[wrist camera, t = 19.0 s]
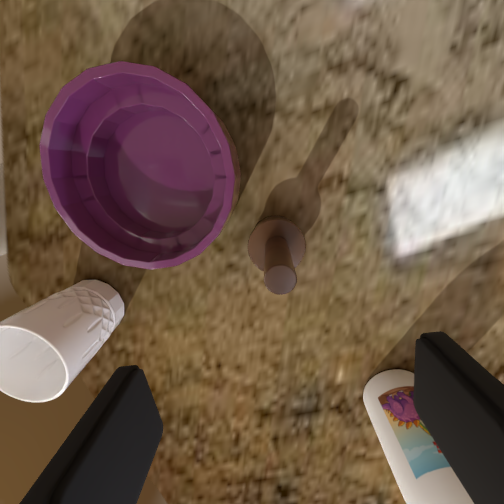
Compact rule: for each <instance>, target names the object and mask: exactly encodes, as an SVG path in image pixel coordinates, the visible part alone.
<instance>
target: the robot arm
mask: <svg viewBox="0 0 504 504" xmlns="http://www.w3.org/2000/svg"><path fill="white" fill-rule="evenodd" d="M413 403H414V407H415V410H416V412H417V414H418V416H419V417H420V419H421V420H422V422H423V424H424V425H425V427H426V428H427V430H428V431H429V433H430V435H431V436H432V438H433V439H434V441H435V443H436V444H437V446H438V447H439V449H440V450H441V452H442V454H443V455H444V457H445V458H446V460H447V462H448V463H449V465H450V466H451V468H452V469H453V471H454V473H455V474H456V476H457V477H458V479H459V480H460V482H461V484H462V485H463V487H464V488H465V490H466V492H467V493H468V495H469V496H470V498H471V499H472V501H473V503H474V504H504V385H503V384H502V383H501V382H500V381H499V380H498V379H496V378H495V377H494V376H492V375H491V374H490V373H489V372H488V371H487V370H486V369H485V368H484V367H482V366H481V365H480V364H479V363H478V362H477V361H476V360H475V359H474V358H472V357H471V356H470V355H469V354H468V353H467V352H466V351H465V350H464V349H462V348H461V347H460V346H459V345H458V344H457V343H456V342H455V341H454V340H452V339H451V338H450V337H449V336H448V335H447V334H446V333H444V332H441V331H440V332H431V333H423V334H421V336H420V339H417V340H416V347H415V370H414V393H413ZM162 433H163V423H162V420H161V418H160V415H159V412H158V409H157V407H156V404H155V401H154V399H153V396H152V393H151V390H150V388H149V385H148V382H147V380H146V377H145V374H144V372H143V370H142V369H139V367H138V366H137V365H132V366H123V367H119V368H117V370H116V371H115V372H114V373H113V375H112V376H111V378H110V379H109V380H108V382H107V383H106V385H105V386H104V387H103V389H102V390H101V392H100V393H99V394H98V396H97V397H96V398H95V400H94V401H93V403H92V404H91V406H90V407H89V408H88V410H87V411H86V412H85V414H84V415H83V417H82V418H81V419H80V421H79V422H78V423H77V425H76V426H75V428H74V429H73V430H72V432H71V433H70V434H69V436H68V437H67V439H66V440H65V441H64V443H63V444H62V446H61V447H60V448H59V450H58V451H57V453H56V454H55V455H54V457H53V458H52V459H51V461H50V462H49V464H48V465H47V466H46V468H45V469H44V471H43V472H42V473H41V475H40V476H39V477H38V479H37V480H36V482H35V483H34V485H33V486H32V487H31V489H30V490H29V491H28V493H27V494H26V496H25V497H24V498H23V500H22V501H21V502H20V504H136V503H137V500H138V498H139V495H140V492H141V490H142V487H143V484H144V482H145V479H146V477H147V474H148V471H149V469H150V466H151V463H152V461H153V458H154V455H155V453H156V450H157V447H158V444H159V442H160V439H161V436H162Z"/></svg>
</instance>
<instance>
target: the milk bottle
mask: <svg viewBox="0 0 504 504" xmlns="http://www.w3.org/2000/svg"><path fill="white" fill-rule="evenodd" d="M413 393H414V373H412V372H409V371H406V370H401V369H393V370H387V371H384V372H381V373H379V374H377V375H375V376H374V377H373V378H371V379H370V380H369V381H368V383H367V384H366V386H365V389H364V394H363V400H364V404H365V406H366V409H367V412H368V414H369V417H370V419H371V421H372V424H373V426H374V429H375V431H376V434H377V436H378V438H379V441H380V443H381V446H382V448H383V450H384V453H385V455H386V458H387V460H388V462H389V465H390V467H391V469H392V472H393V474H394V477H395V479H396V481H397V484H398V486H399V488H400V491H401V493H402V495H403V497H404V500H405V502H406V504H474V503H473V501H472V499H471V498H470V496H469V495H468V493H467V492H466V490H465V488H464V487H463V485H462V484H461V482H460V480H459V479H458V477H457V476H456V474H455V473H454V471H453V469H452V468H451V466H450V465H449V463H448V462H447V460H446V458H445V457H444V455H443V454H442V452H441V450H440V449H439V447H438V446H437V444H436V443H435V441H434V439H433V438H432V436H431V435H430V433H429V431H428V430H427V428H426V427H425V425H424V424H423V422H422V420H421V419H420V417H419V416H418V414H417V412H416V410H415V407H414V403H413Z"/></svg>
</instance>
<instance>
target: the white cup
mask: <svg viewBox="0 0 504 504" xmlns="http://www.w3.org/2000/svg"><path fill="white" fill-rule="evenodd" d="M123 316H124V303H123V301H122V299H121V297H120V295H119V293H118V292H117V291H116V290H115V289H113V288H112V287H111V286H110V285H109V284H107V283H104V282H101V281H98V280H82V281H80V282H79V283H77V284H75V285H73V286H71V287H69V288H67V289H65V290H63V291H59V292H57V293H55V294H53V295H51V296H49V297H47V298H45V299H43V300H41V301H39V302H37V303H35V304H34V305H32V306H30V307H28V308H26V309H24V310H22V311H20V312H18V313H17V314H15V315H13V316H11V317H9V318H7V319H5V320H3V321H1V322H0V391H2V392H3V393H5V394H7V395H9V396H11V397H14V398H16V399H19V400H23V401H28V402H46V401H49V400H53V399H54V398H56V397H58V396H60V395H61V394H62V393H63V392H64V391H65V389H66V388H67V387H68V386H69V384H70V383H71V382H72V381H73V380H74V379H75V377H76V376H77V375H78V374H79V373H80V372H81V370H82V369H83V368H84V367H85V366H86V364H87V363H88V362H89V361H90V360H91V358H92V357H93V356H94V355H95V354H96V353H97V351H98V350H99V349H100V348H101V346H102V345H103V344H104V342H105V341H106V340H107V339H108V337H109V336H110V335H111V333H112V331H113V330H114V329H115V328H116V327H117V326H118V324H119V323H120V321H121V320H122V318H123Z"/></svg>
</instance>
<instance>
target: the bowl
mask: <svg viewBox="0 0 504 504" xmlns="http://www.w3.org/2000/svg"><path fill="white" fill-rule="evenodd" d="M40 155H41V164H42V173H43V178H44V179H43V180H44V182H45V185H46V187H47V189H48V192H49V194H50V197H51V199H52V202H53V204H54V207H55V208H56V210H57V212H58V213H59V214H60V216H61V217H62V218H63V220H64V221H65V222H66V224H67V225H68V227H69V228H70V229H71V231H72V232H73V233H74V234H75V235H76V236H77V237H78V238H80V239H81V240H82V241H83V242H84V243H86V244H87V245H88V246H89V247H91V248H92V249H93V250H94V251H95V252H97V253H99V254H101V255H103V256H105V257H107V258H109V259H111V260H114V261H116V262H118V263H120V264H122V265H126V266H132V267H139V268H145V269H157V268H165V267H172V266H177V265H179V264H181V263H183V262H185V261H187V260H189V259H191V258H193V257H195V256H198V255H200V254H201V253H202V252H203V251H204V250H205V249H206V248H207V247H208V246H209V245H210V244H211V243H212V242H213V241H214V240H215V238H216V237H217V236H218V235H219V234H220V233H221V231H222V230H223V229H224V227H225V226H226V224H227V223H228V221H229V219H230V217H231V215H232V213H233V211H234V208H235V206H236V204H237V202H238V197H239V189H240V181H241V171H240V165H239V159H238V154H237V149H236V146H235V144H234V142H233V140H232V138H231V136H230V134H229V132H228V130H227V128H226V126H225V124H224V123H223V121H222V120H221V119H220V118H219V117H218V116H217V115H216V114H215V113H214V112H213V111H212V110H211V109H210V108H209V106H208V105H207V104H206V103H205V102H204V101H203V100H202V99H201V98H200V97H199V96H198V95H197V94H196V93H195V92H194V91H193V90H192V89H191V88H190V86H189V85H187V84H186V83H184V82H182V81H181V80H179V79H177V78H175V77H173V76H171V75H170V74H168V73H166V72H164V71H162V70H161V69H159V68H157V67H155V66H149V65H143V64H137V63H130V62H124V61H118V62H114V63H110V64H105V65H101V66H97V67H92V68H88V69H86V70H85V71H84V72H82V73H81V74H80V75H78V76H77V77H76V78H74V79H73V80H71V81H70V82H69V83H67V84H66V85H65V86H63V87H62V89H61V90H60V92H59V94H58V95H57V97H56V98H55V100H54V102H53V103H52V105H51V107H50V108H49V110H48V112H47V113H46V115H45V120H44V126H43V131H42V136H41V141H40Z"/></svg>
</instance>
